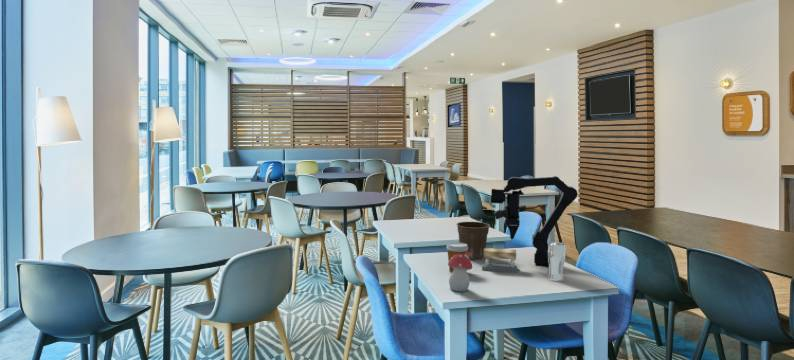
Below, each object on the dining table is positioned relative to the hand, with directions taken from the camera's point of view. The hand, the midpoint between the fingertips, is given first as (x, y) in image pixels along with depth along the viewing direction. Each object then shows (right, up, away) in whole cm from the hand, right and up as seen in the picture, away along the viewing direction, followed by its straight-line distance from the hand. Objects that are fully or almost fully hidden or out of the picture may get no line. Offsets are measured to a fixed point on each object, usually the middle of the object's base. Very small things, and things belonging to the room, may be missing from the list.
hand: (512, 237), depth 226 cm
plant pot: (-17, -11, +11) cm, 23 cm away
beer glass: (+12, -15, -26) cm, 32 cm away
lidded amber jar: (-28, -13, -16) cm, 35 cm away
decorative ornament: (-30, -16, -41) cm, 53 cm away
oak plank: (-8, -7, -12) cm, 16 cm away
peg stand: (-8, -13, -11) cm, 19 cm away
